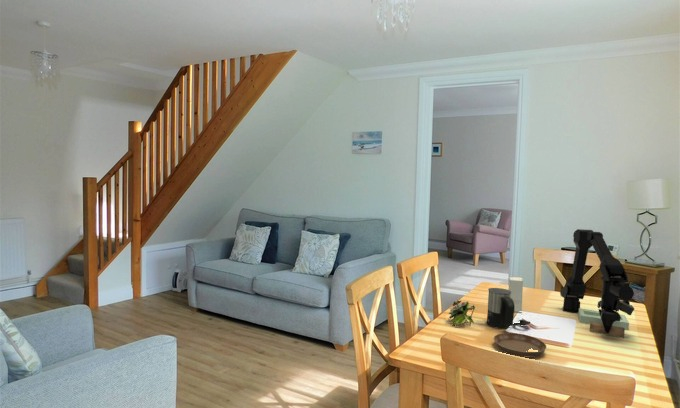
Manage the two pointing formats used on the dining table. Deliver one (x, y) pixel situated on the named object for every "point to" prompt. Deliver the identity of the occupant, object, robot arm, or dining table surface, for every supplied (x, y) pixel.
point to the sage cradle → (594, 316)
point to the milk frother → (501, 309)
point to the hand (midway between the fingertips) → (606, 330)
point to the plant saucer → (519, 344)
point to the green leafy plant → (461, 313)
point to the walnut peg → (600, 329)
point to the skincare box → (516, 292)
